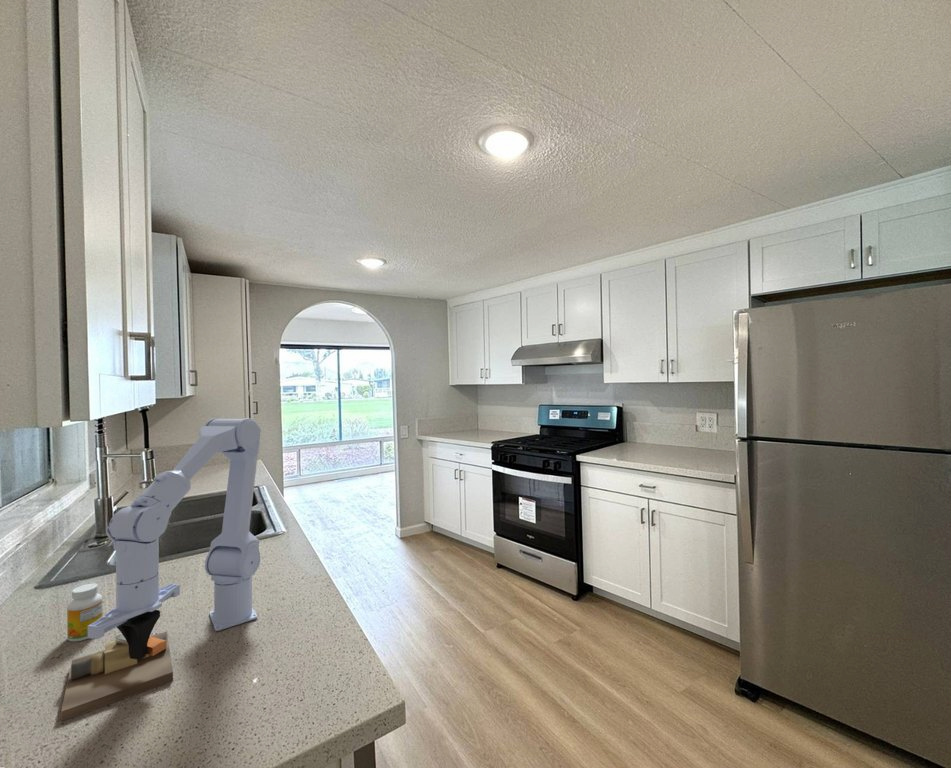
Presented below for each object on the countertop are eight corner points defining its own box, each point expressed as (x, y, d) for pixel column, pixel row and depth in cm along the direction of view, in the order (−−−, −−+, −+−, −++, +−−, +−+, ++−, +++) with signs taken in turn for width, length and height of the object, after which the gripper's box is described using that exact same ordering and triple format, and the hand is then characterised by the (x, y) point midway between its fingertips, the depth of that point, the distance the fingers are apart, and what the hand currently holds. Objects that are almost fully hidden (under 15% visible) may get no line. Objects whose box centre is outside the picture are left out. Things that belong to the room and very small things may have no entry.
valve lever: (111, 644, 76) (111, 636, 76) (124, 637, 78) (124, 630, 78) (152, 656, 73) (152, 647, 73) (165, 648, 75) (165, 640, 75)
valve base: (72, 668, 78) (71, 640, 78) (166, 638, 86) (166, 613, 87) (61, 721, 65) (60, 688, 65) (173, 680, 74) (172, 651, 74)
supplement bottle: (64, 636, 88) (64, 589, 88) (99, 624, 92) (98, 579, 92) (70, 645, 85) (70, 596, 85) (105, 633, 89) (105, 586, 89)
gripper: (113, 599, 65) (113, 689, 65) (193, 561, 79) (193, 635, 79) (76, 596, 66) (76, 684, 66) (161, 559, 81) (161, 631, 80)
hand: (138, 657), depth 73 cm, fingers closed, pressing on valve lever
